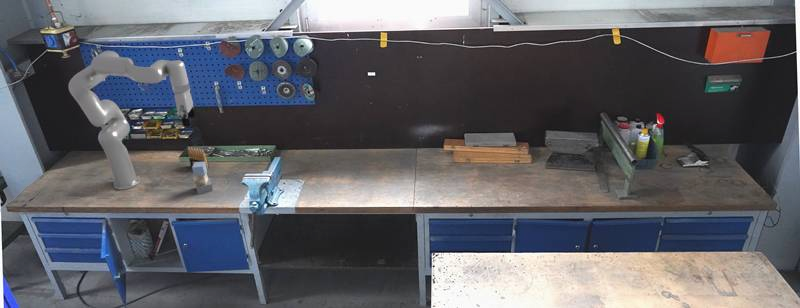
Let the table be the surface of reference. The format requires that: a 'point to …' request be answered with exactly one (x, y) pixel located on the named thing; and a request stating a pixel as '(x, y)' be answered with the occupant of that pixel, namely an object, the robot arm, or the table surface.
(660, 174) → the table surface
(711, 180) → the table surface
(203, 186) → the base block
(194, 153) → the ammunition clip
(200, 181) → the maple cube
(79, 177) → the table surface
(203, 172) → the blue cube
